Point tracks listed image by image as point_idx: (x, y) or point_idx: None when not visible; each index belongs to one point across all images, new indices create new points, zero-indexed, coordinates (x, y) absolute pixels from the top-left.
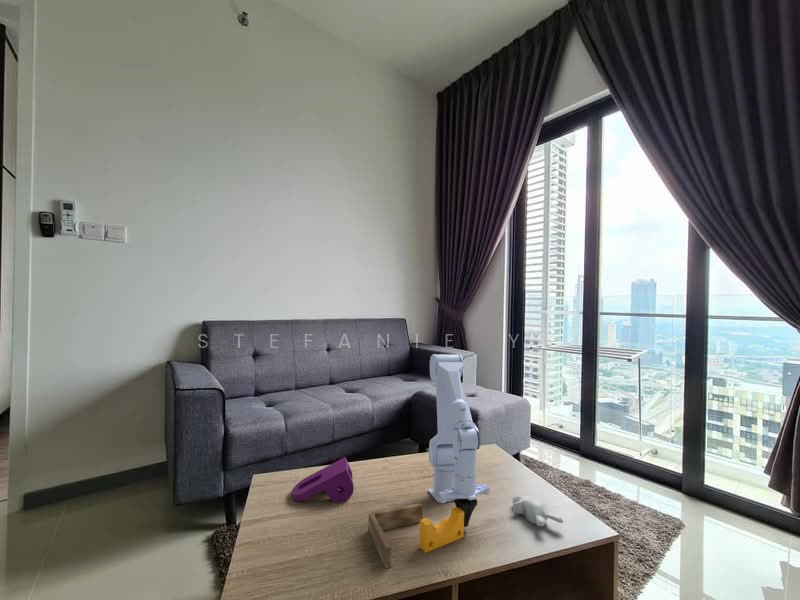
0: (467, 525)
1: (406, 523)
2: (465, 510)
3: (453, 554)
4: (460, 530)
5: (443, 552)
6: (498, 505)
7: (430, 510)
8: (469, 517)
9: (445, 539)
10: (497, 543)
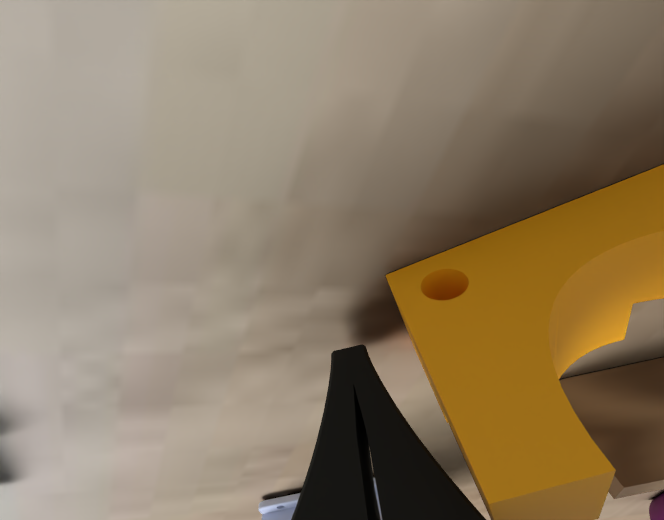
0: (338, 355)
1: (639, 371)
2: (422, 507)
3: (577, 76)
4: (438, 300)
5: (633, 117)
6: (96, 482)
7: (452, 440)
8: (334, 415)
9: (590, 222)
10: (121, 192)
